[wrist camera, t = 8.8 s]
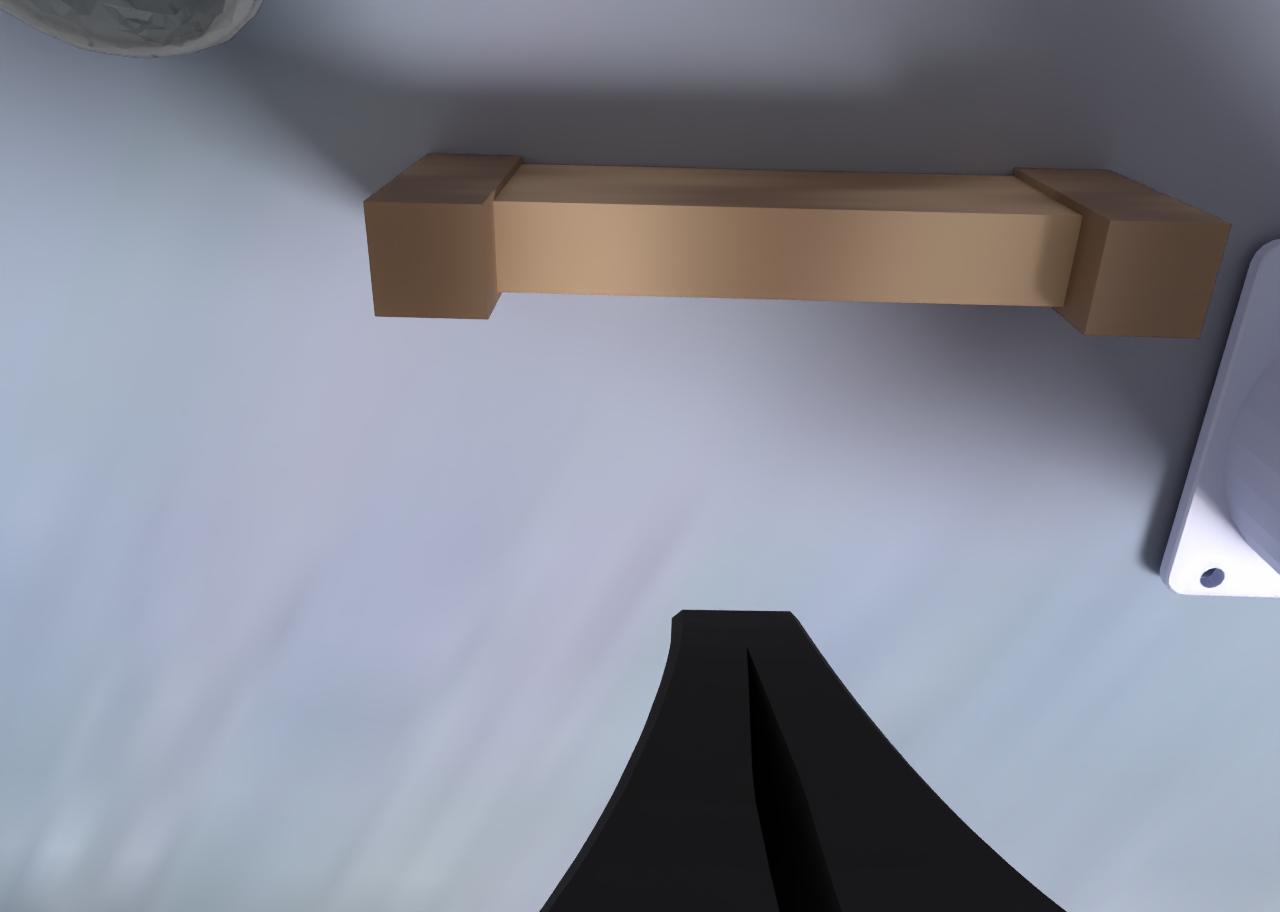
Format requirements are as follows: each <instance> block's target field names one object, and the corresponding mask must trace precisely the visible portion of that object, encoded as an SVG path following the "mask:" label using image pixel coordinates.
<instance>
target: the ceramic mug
mask: <svg viewBox="0 0 1280 912" xmlns="http://www.w3.org/2000/svg"><path fill="white" fill-rule="evenodd" d="M262 2H263V0H0V9H2V10H3V11H5V12H6V13H8V14H10V15H12V16H14V17H15V18H17V19H19V20H21V21H22V22H24V23H26V24H28V25H30V26H32V27H33V28H35V29H37V30H39V31H41V32H43V33H45V34H47V35H50V36H52V37H54V38H57V39H59V40H62V41H64V42H66V43H69V44H71V45H74V46H76V47H78V48H82V49H86V50H91V51H96V52H100V53H105V54H110V55H119V56H126V57H132V58H155V57H166V56H176V55H185V54H192V53H195V52H197V51H200V50H203V49H206V48H209V47H212V46H215V45H218V44H221V43H223V42H226V41H228V40H230V39H231V38H232V37H233V36H234V35H235V34H236V33H237V32H238V31H239V30H240V29H241V28H242V27H243V26H244V25H245V24H246V23H247V22H248V21H249V20H250V19H251V18H252V17H254V16H255V15H256V13H257V11H258V9H259V7H260V5H261V3H262Z"/></svg>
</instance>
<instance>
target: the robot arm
mask: <svg viewBox="0 0 1280 912" xmlns="http://www.w3.org/2000/svg"><path fill="white" fill-rule="evenodd" d="M1212 568H1216V569H1215V570H1214V572H1213V574H1211V575H1210V576H1208V577H1206V578H1200V577H1201V576H1202V574H1203V573H1204V572H1205V571H1207V570H1208V569H1212ZM1160 577H1161V579H1162V581H1163V583H1164V584H1165V585H1166V586H1167V588H1168V589H1169V590H1171V591H1172V592H1174V593H1176V594H1180V595H1200V596H1234V597H1268V598H1280V239H1276V240H1272V241H1270V242H1269V243H1267V244H1265V245H1263V246H1262V247H1261V248H1260V249H1259V250H1258V251H1257V252H1256V253H1255V255H1254V257H1253V259H1252V261H1251V263H1250V266H1249V269H1248V272H1247V276H1246V279H1245V282H1244V286H1243V289H1242V293H1241V296H1240V299H1239V303H1238V306H1237V310H1236V313H1235V316H1234V320H1233V323H1232V326H1231V330H1230V333H1229V337H1228V340H1227V343H1226V347H1225V350H1224V354H1223V357H1222V360H1221V364H1220V367H1219V371H1218V374H1217V377H1216V381H1215V384H1214V387H1213V391H1212V394H1211V398H1210V401H1209V404H1208V408H1207V411H1206V415H1205V418H1204V421H1203V425H1202V428H1201V431H1200V435H1199V438H1198V442H1197V445H1196V448H1195V452H1194V455H1193V459H1192V462H1191V465H1190V469H1189V472H1188V475H1187V479H1186V482H1185V486H1184V489H1183V492H1182V496H1181V499H1180V503H1179V506H1178V509H1177V513H1176V516H1175V520H1174V523H1173V526H1172V530H1171V533H1170V536H1169V540H1168V543H1167V547H1166V550H1165V553H1164V557H1163V560H1162V564H1161V567H1160ZM540 912H1066V911H1065V910H1064V909H1062V908H1061V907H1060V906H1059V905H1057V904H1056V903H1055V902H1054V901H1052V900H1051V899H1050V898H1048V897H1047V896H1046V895H1045V894H1043V893H1042V892H1041V891H1040V890H1039V889H1037V888H1036V887H1035V886H1034V885H1033V884H1032V883H1030V882H1029V881H1028V880H1027V879H1026V878H1024V877H1023V876H1022V875H1021V874H1020V873H1019V872H1017V871H1016V870H1015V869H1014V868H1013V867H1012V866H1011V865H1009V864H1008V863H1007V862H1006V861H1005V860H1004V859H1003V858H1002V857H1001V856H1000V855H999V854H997V853H996V852H995V851H994V850H993V849H992V848H991V847H990V846H989V845H988V844H987V843H985V842H984V841H983V840H982V839H981V838H980V837H979V836H978V835H977V834H976V833H975V832H974V831H972V830H971V829H970V828H969V827H968V826H967V825H966V824H965V823H964V822H963V821H962V820H961V819H960V818H959V817H958V816H957V815H956V814H955V813H954V812H953V811H952V810H951V809H950V808H949V806H948V805H947V804H946V803H945V802H944V801H943V800H942V799H941V798H940V797H939V796H938V795H937V794H936V793H935V792H934V791H933V790H932V789H931V787H930V786H929V785H928V784H927V783H926V782H925V781H924V780H923V779H922V778H921V777H920V776H919V774H918V773H917V772H916V771H915V770H914V769H913V768H912V767H911V766H910V765H909V764H908V762H907V761H906V760H905V759H904V758H903V757H902V755H901V754H900V753H899V752H898V751H897V750H896V749H895V747H894V746H893V745H892V744H891V743H890V742H889V740H888V739H887V738H886V737H885V736H884V734H883V733H882V732H881V731H880V729H879V728H878V727H877V726H876V725H875V723H874V722H873V721H872V720H871V718H870V717H869V716H868V715H867V714H866V712H865V711H864V710H863V709H862V707H861V706H860V705H859V704H858V702H857V701H856V700H855V699H854V697H853V696H852V695H851V693H850V692H849V691H848V689H847V688H846V687H845V685H844V684H843V683H842V681H841V680H840V679H839V677H838V676H837V675H836V673H835V672H834V671H833V669H832V668H831V667H830V665H829V664H828V662H827V661H826V660H825V658H824V657H823V655H822V654H821V653H820V651H819V650H818V648H817V647H816V645H815V644H814V643H813V641H812V640H811V638H810V637H809V635H808V634H807V632H806V631H805V629H804V628H803V626H802V625H801V623H800V622H799V620H798V619H797V618H796V617H795V616H794V615H793V614H792V613H791V612H790V611H727V610H682V611H680V612H679V613H678V614H677V615H675V616H674V617H673V618H672V628H671V644H670V650H669V654H668V659H667V663H666V666H665V670H664V673H663V676H662V680H661V683H660V686H659V689H658V692H657V694H656V697H655V700H654V702H653V705H652V708H651V711H650V713H649V716H648V719H647V721H646V724H645V727H644V729H643V731H642V734H641V736H640V738H639V741H638V743H637V745H636V747H635V749H634V751H633V753H632V755H631V757H630V760H629V762H628V764H627V766H626V768H625V770H624V772H623V774H622V776H621V779H620V781H619V783H618V785H617V787H616V789H615V791H614V793H613V795H612V796H611V798H610V800H609V802H608V804H607V806H606V807H605V809H604V811H603V813H602V815H601V816H600V818H599V820H598V822H597V824H596V825H595V827H594V829H593V830H592V832H591V834H590V835H589V837H588V839H587V840H586V842H585V844H584V845H583V847H582V849H581V850H580V852H579V854H578V855H577V857H576V858H575V860H574V861H573V863H572V864H571V866H570V867H569V869H568V870H567V872H566V873H565V875H564V876H563V878H562V879H561V881H560V882H559V884H558V885H557V887H556V888H555V890H554V891H553V893H552V894H551V896H550V897H549V899H548V900H547V902H546V903H545V905H544V906H543V907H542V909H541V910H540Z"/></svg>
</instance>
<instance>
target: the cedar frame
mask: <svg viewBox="0 0 1280 912" xmlns="http://www.w3.org/2000/svg"><path fill="white" fill-rule="evenodd" d="M363 203H364V213H365V223H366V233H367V243H368V253H369V262H370V272H371V282H372V292H373V302H374V312H375V316H380V317H417V318H455V319H489V317H490V315H491V313H492V311H493V309H494V307H495V305H496V303H497V301H498V299H499V297H500V296H501V294H502V292H515V293H553V294H591V295H629V296H667V297H706V298H744V299H782V300H820V301H858V302H896V303H934V304H973V305H1011V306H1049V307H1052V308H1053V309H1054V310H1055V311H1057V312H1058V313H1059V314H1060V315H1061V316H1062V317H1064V318H1065V319H1066V320H1067V321H1068V322H1069V323H1071V324H1072V325H1073V326H1074V327H1075V328H1076V329H1078V330H1079V331H1080V332H1081V333H1082V334H1083V335H1095V336H1133V337H1171V338H1200V335H1201V331H1202V327H1203V324H1204V320H1205V317H1206V313H1207V310H1208V306H1209V303H1210V299H1211V296H1212V292H1213V288H1214V285H1215V281H1216V278H1217V274H1218V271H1219V267H1220V264H1221V260H1222V257H1223V253H1224V249H1225V246H1226V242H1227V239H1228V235H1229V232H1230V228H1231V225H1232V223H1230V222H1227V221H1225V220H1223V219H1221V218H1218V217H1216V216H1214V215H1211V214H1209V213H1207V212H1204V211H1202V210H1200V209H1198V208H1195V207H1193V206H1191V205H1188V204H1186V203H1184V202H1181V201H1179V200H1177V199H1175V198H1172V197H1170V196H1168V195H1165V194H1163V193H1161V192H1158V191H1156V190H1154V189H1152V188H1149V187H1147V186H1145V185H1142V184H1140V183H1138V182H1135V181H1133V180H1131V179H1129V178H1126V177H1124V176H1122V175H1119V174H1117V173H1115V172H1112V171H1110V170H1080V169H1039V168H1014V173H1013V176H994V175H954V174H913V173H872V172H832V171H791V170H751V169H710V168H670V167H629V166H588V165H548V164H522V156H509V155H469V154H427V155H425V156H424V157H423V158H421V159H420V160H419V161H417V162H416V163H415V164H413V165H412V166H410V167H409V168H408V169H406V170H405V171H404V172H402V173H401V174H400V175H398V176H397V177H396V178H394V179H393V180H392V181H390V182H389V183H388V184H386V185H385V186H384V187H382V188H381V189H380V190H378V191H377V192H376V193H374V194H373V195H372V196H370V197H369V198H367V199H366V200H365V201H363Z"/></svg>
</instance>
